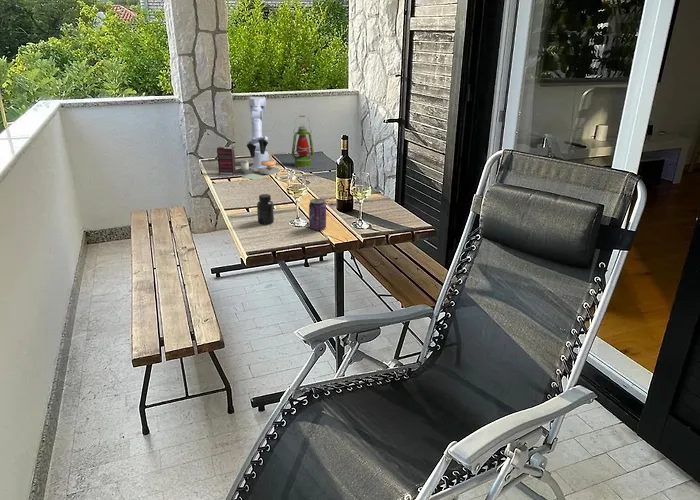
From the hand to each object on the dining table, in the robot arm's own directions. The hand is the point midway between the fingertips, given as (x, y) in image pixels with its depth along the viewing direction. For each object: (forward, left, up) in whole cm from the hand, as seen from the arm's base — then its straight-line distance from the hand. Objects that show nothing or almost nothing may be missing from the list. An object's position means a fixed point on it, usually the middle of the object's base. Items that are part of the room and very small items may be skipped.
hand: (257, 155), depth 296 cm
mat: (+6, +1, -11) cm, 13 cm away
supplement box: (+11, -13, -11) cm, 21 cm away
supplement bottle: (+56, +57, -11) cm, 80 cm away
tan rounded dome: (-6, +2, -9) cm, 11 cm away
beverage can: (+48, +79, -11) cm, 93 cm away
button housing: (-6, +2, -11) cm, 13 cm away
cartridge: (+1, -10, -11) cm, 15 cm away
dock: (+1, -10, -11) cm, 15 cm away
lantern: (-32, +6, -11) cm, 35 cm away
